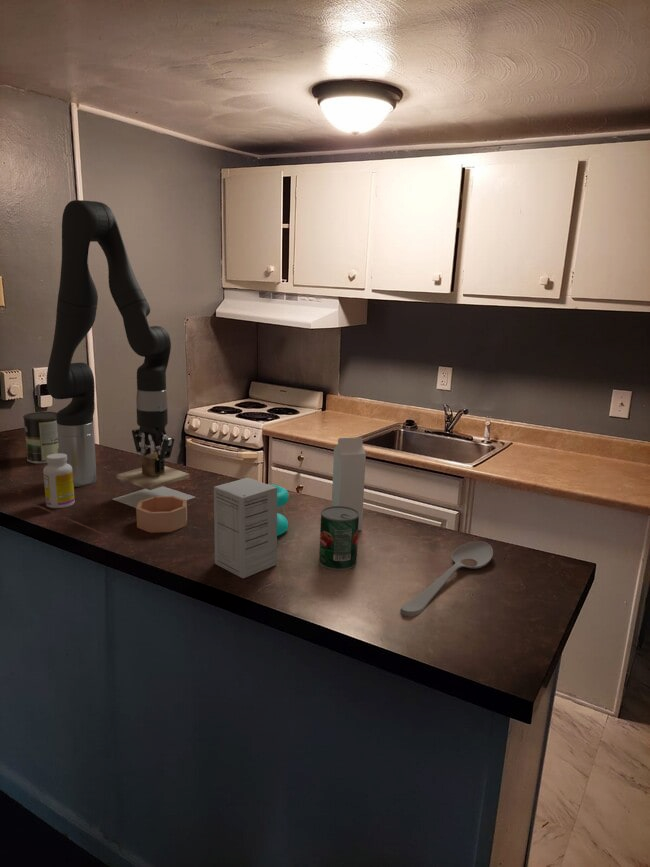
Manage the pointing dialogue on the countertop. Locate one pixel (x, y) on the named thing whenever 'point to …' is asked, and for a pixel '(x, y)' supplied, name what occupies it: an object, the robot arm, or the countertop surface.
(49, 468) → the supplement bottle
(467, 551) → the spoon
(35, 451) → the coffee can
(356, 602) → the countertop surface
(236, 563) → the supplement box
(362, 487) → the milk
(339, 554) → the canned tomato
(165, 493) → the mat
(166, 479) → the lid
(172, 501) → the bowl
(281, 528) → the donuts
